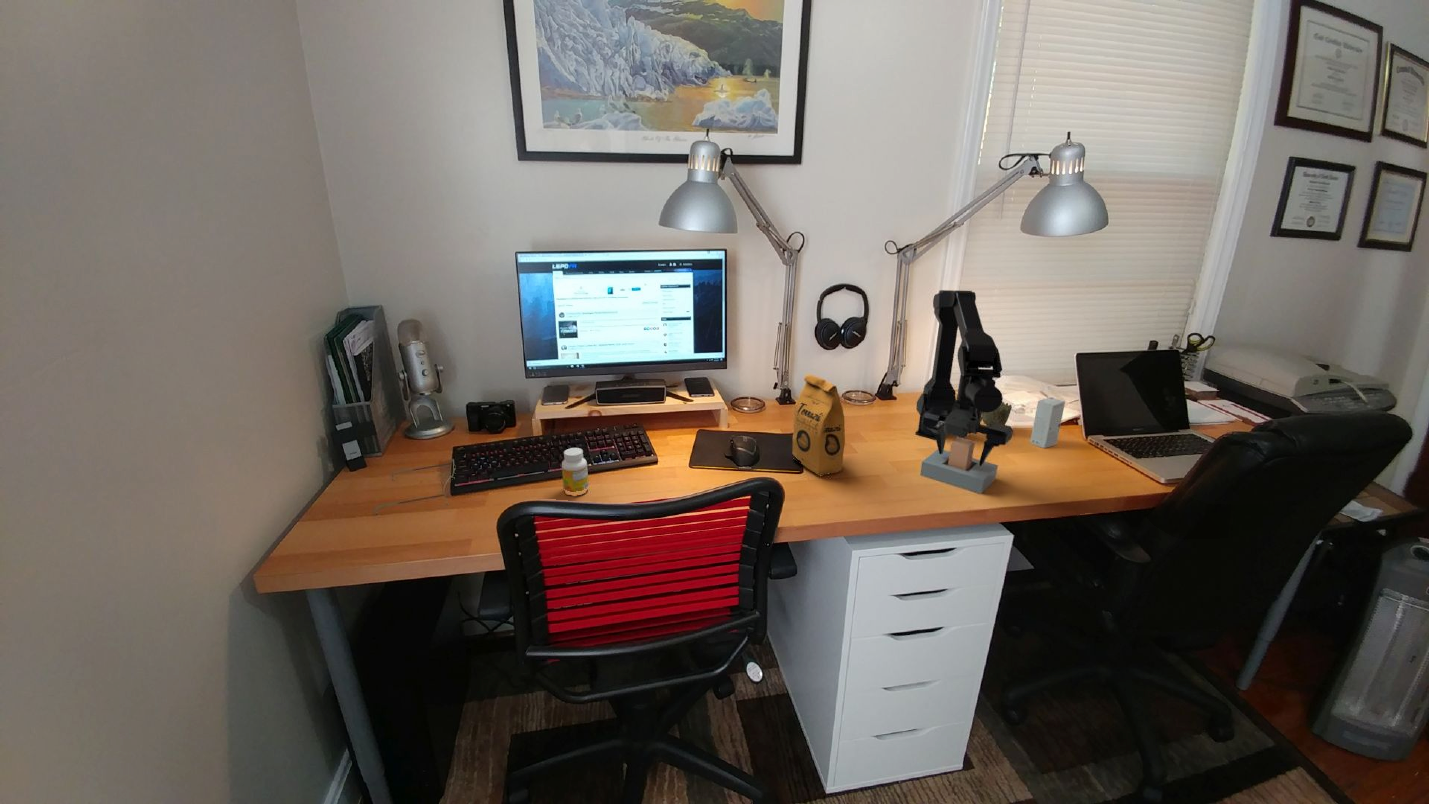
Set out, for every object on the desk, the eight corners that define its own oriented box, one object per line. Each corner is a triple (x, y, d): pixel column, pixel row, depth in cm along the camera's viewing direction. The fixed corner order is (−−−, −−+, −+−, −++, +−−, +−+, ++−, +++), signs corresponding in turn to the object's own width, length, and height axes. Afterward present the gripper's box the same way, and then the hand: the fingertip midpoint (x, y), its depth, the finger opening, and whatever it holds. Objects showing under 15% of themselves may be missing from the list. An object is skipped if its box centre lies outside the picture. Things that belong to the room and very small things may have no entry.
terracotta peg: (945, 477, 141) (951, 442, 138) (951, 471, 144) (957, 437, 140) (963, 482, 138) (969, 446, 135) (968, 476, 141) (974, 441, 138)
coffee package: (813, 480, 139) (820, 390, 131) (786, 458, 149) (791, 374, 142) (849, 472, 142) (857, 385, 135) (820, 452, 153) (826, 370, 146)
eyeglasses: (453, 507, 126) (449, 486, 125) (375, 517, 123) (370, 495, 121) (461, 474, 141) (458, 455, 139) (392, 481, 137) (388, 462, 135)
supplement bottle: (561, 488, 134) (557, 449, 130) (584, 483, 136) (581, 444, 133) (568, 499, 129) (564, 458, 126) (592, 493, 132) (589, 453, 128)
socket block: (920, 474, 142) (922, 461, 140) (936, 461, 149) (938, 448, 148) (981, 494, 133) (983, 480, 132) (995, 478, 140) (997, 465, 139)
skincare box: (1045, 449, 156) (1054, 405, 152) (1028, 443, 160) (1037, 400, 156) (1057, 443, 160) (1067, 401, 155) (1041, 438, 163) (1050, 396, 159)
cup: (984, 423, 173) (989, 397, 170) (1011, 431, 168) (1016, 404, 165) (973, 430, 168) (978, 403, 165) (1000, 438, 163) (1005, 410, 160)
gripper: (915, 395, 134) (907, 459, 139) (1003, 416, 123) (990, 484, 128) (935, 384, 142) (926, 444, 147) (1019, 402, 130) (1006, 466, 136)
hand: (960, 459), depth 139 cm, fingers open, 9 cm apart
